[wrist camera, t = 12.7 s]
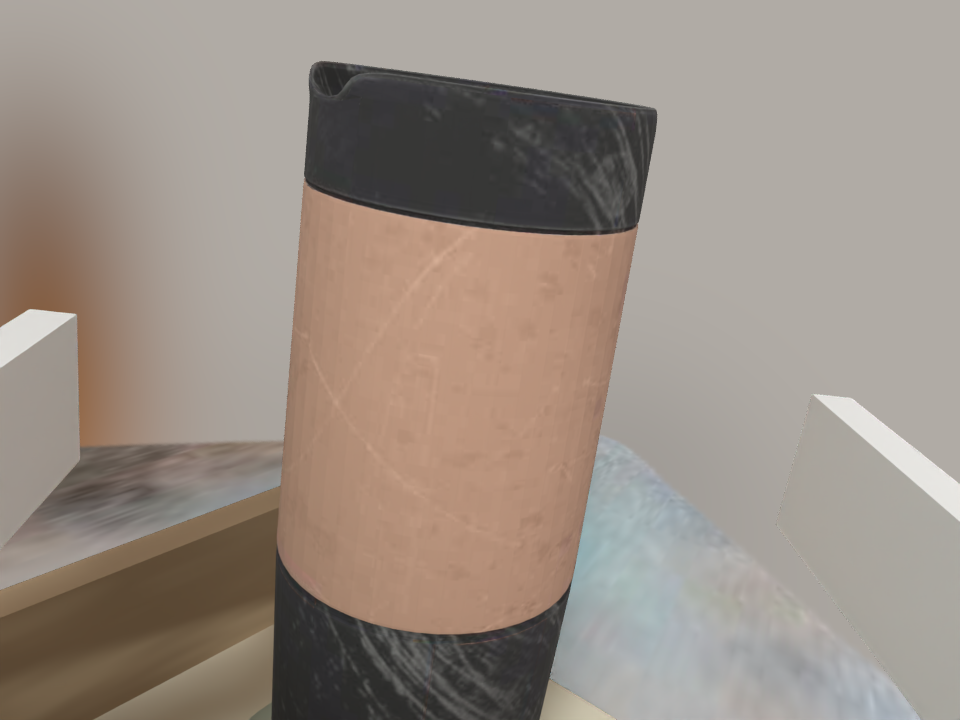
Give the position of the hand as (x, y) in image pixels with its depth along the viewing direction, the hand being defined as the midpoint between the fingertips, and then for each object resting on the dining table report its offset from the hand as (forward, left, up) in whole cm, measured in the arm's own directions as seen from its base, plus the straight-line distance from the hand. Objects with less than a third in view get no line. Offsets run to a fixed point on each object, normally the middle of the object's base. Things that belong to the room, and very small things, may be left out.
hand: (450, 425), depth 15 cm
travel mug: (-3, +4, -14) cm, 15 cm away
